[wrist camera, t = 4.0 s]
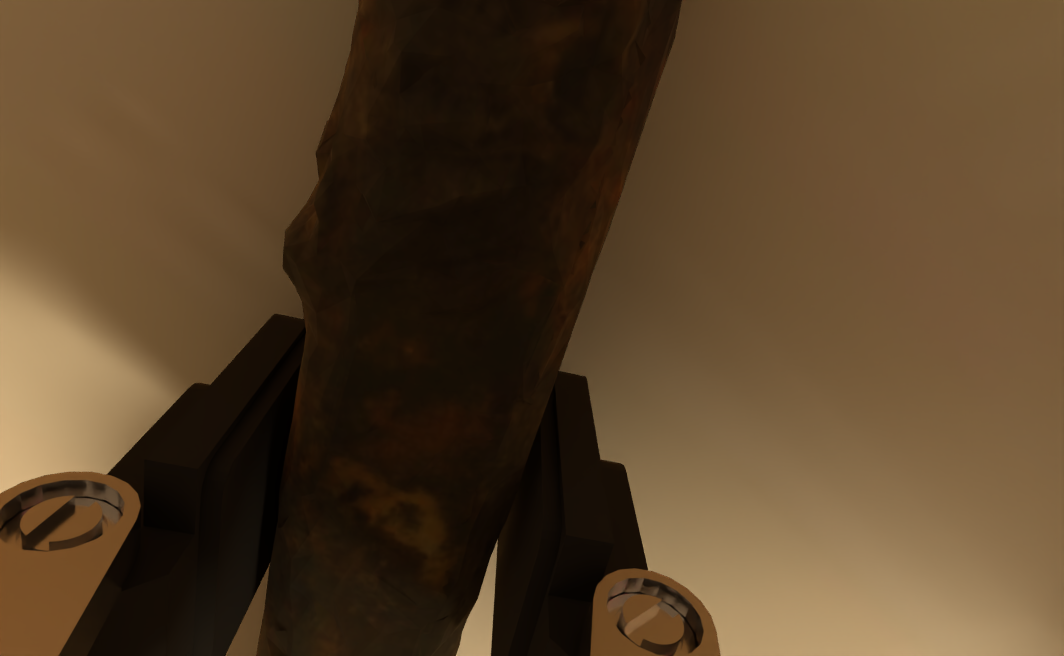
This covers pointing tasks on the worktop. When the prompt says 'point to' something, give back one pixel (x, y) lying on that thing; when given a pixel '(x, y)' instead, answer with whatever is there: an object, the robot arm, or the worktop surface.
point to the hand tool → (443, 299)
